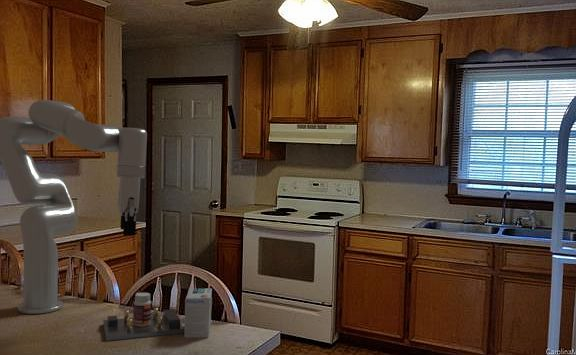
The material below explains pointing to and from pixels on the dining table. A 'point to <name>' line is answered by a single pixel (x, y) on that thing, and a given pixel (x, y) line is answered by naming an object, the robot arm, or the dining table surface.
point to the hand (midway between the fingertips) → (127, 232)
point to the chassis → (158, 326)
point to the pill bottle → (142, 310)
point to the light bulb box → (198, 313)
